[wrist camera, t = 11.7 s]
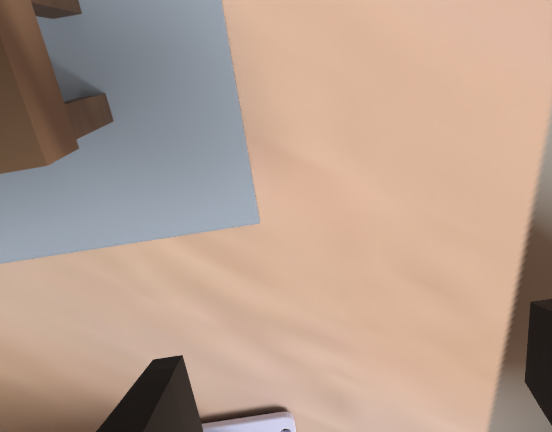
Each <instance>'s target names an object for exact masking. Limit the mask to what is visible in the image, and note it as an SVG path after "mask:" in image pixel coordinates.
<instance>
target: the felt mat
mask: <svg viewBox="0 0 552 432" xmlns="http://www.w3.org/2000/svg"><path fill="white" fill-rule="evenodd" d="M78 1H79V4H80V8H81V11H82V14H79V15H73V16H67V17H61V18H56V19H50V18H44V17H38V16H36V18H37V21H38V24H39V27H40V30H41V34H42V37H43V40H44V43H45V46H46V49H47V52H48V55H49V58H50V61H51V64H52V67H53V70H54V73H55V76H56V79H57V82H58V85H59V88H60V91H61V94H62V97H63V100H64V102H65V101H68V100H72V99H76V98H81V97H87V96H93V95H99V94H104V93H106V96H107V100H108V103H109V107H110V110H111V113H112V117H113V120H114V122H111V123H109V124H107V125H105V126H103V127H101V128H99V129H97V130H95V131H93V132H91V133H89V134H87V135H85V136H83V137H81V138H78V139H76V140H77V143H78V146H79V149H77V150H76V151H74V152H72V153H70V154H68V155H66V156H65V157H63V158H61V159H59V160H57V161H55V162H54V163H52V164H50V165H48V166H44V167H38V168H32V169H26V170H21V171H15V172H9V173H3V174H0V264H1V263H8V262H14V261H21V260H27V259H34V258H40V257H46V256H53V255H59V254H66V253H72V252H79V251H85V250H92V249H98V248H104V247H111V246H117V245H124V244H130V243H137V242H143V241H150V240H156V239H162V238H169V237H175V236H182V235H188V234H195V233H201V232H207V231H214V230H220V229H227V228H233V227H240V226H246V225H253V224H259V223H260V219H259V213H258V207H257V202H256V196H255V190H254V184H253V179H252V173H251V167H250V161H249V156H248V150H247V144H246V138H245V133H244V127H243V121H242V115H241V110H240V104H239V98H238V92H237V87H236V81H235V75H234V69H233V64H232V58H231V52H230V46H229V41H228V35H227V29H226V23H225V18H224V12H223V6H222V0H78Z"/></svg>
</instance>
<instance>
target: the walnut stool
mask: <svg viewBox="0 0 552 432" xmlns="http://www.w3.org/2000/svg"><path fill="white" fill-rule="evenodd" d="M79 14H82V11H81V8H80V4H79V1H78V0H0V174H3V173H9V172H15V171H21V170H26V169H32V168H38V167H44V166H48V165H50V164H52V163H54V162H55V161H57V160H59V159H61V158H63V157H65V156H66V155H68V154H70V153H72V152H74V151H76V150H77V149H79V146H78V143H77V140H76V139H78V138H81V137H83V136H85V135H87V134H89V133H91V132H93V131H95V130H97V129H99V128H101V127H103V126H105V125H107V124H109V123H111V122H114V120H113V117H112V113H111V110H110V107H109V103H108V100H107V96H106V93H104V94H99V95H93V96H87V97H81V98H76V99H72V100H68V101H65V102H64V100H63V97H62V94H61V91H60V88H59V85H58V82H57V79H56V76H55V73H54V70H53V67H52V64H51V61H50V58H49V55H48V52H47V49H46V46H45V43H44V40H43V37H42V34H41V30H40V27H39V24H38V21H37V18H36V16H38V17H44V18H50V19H56V18H61V17H67V16H73V15H79Z"/></svg>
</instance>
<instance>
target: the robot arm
mask: <svg viewBox="0 0 552 432" xmlns="http://www.w3.org/2000/svg"><path fill="white" fill-rule="evenodd" d="M525 383H526V384H527V386H528V387H529V389H530V391H531V393H532V394H533V396H534V398H535V399H536V401H537V403H538V405H539V406H540V408H541V409H542V411H543V413H544V414H545V416H546V417H547V419H548V420H549V422H550V423H551V425H552V299H548V300H541V301H534V302H531V304H530V318H529V331H528V344H527V359H526V372H525ZM283 429H288V430H283ZM96 432H296V427H295V422H294V417H293V415H292V414H291V413H289V412H277V413H271V414H264V415H257V416H251V417H244V418H238V419H231V420H224V421H218V422H211V423H204V424H201V421H200V417H199V413H198V410H197V406H196V402H195V399H194V395H193V392H192V388H191V384H190V381H189V377H188V373H187V370H186V366H185V363H184V359H183V355H180V356H174V357H167V358H161V359H154V360H153V361H152V362H151V363H150V364H149V366H148V367H147V368H146V369H145V371H144V372H143V373H142V374H141V376H140V377H139V378H138V380H137V381H136V382H135V383H134V385H133V386H132V387H131V388H130V390H129V391H128V392H127V394H126V395H125V396H124V397H123V399H122V400H121V401H120V403H119V404H118V405H117V406H116V408H115V409H114V410H113V411H112V413H111V414H110V415H109V416H108V418H107V419H106V420H105V421H104V423H103V424H102V425H101V426H100V428H99V429H98V430H97V431H96Z"/></svg>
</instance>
